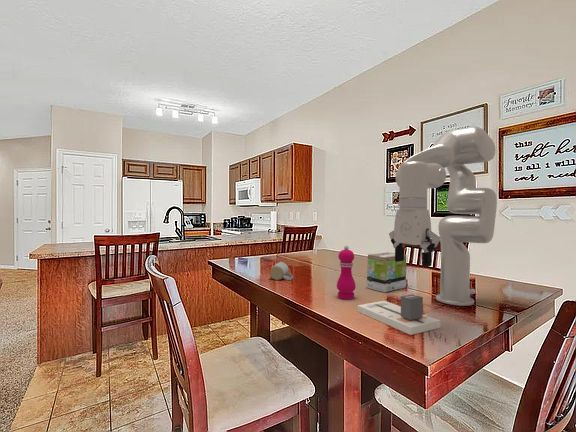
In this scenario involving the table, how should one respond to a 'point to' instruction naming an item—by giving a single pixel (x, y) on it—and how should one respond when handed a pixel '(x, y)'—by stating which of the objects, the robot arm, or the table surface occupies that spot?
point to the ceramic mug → (280, 272)
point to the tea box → (386, 272)
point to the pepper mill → (346, 275)
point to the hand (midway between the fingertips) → (412, 263)
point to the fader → (411, 307)
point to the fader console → (397, 317)
